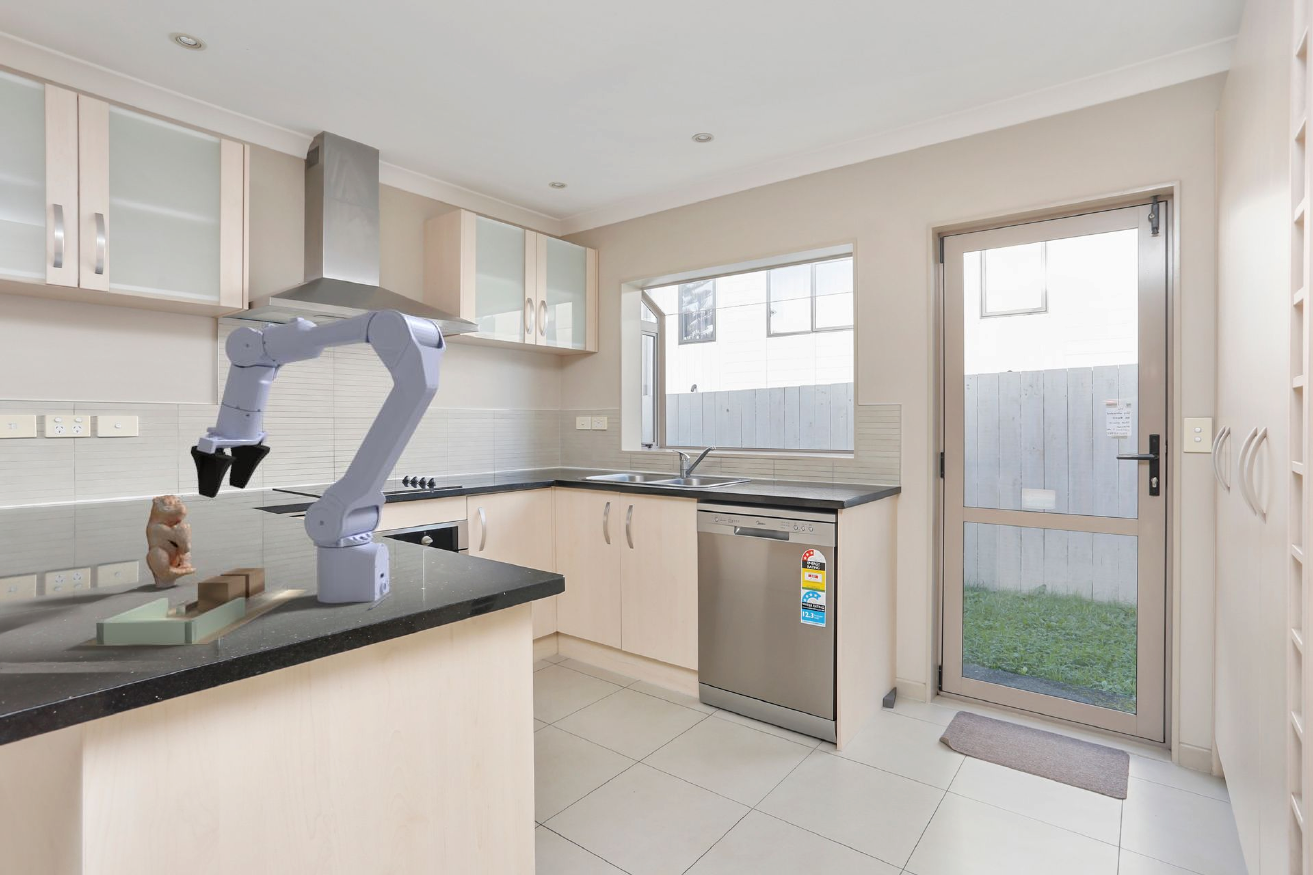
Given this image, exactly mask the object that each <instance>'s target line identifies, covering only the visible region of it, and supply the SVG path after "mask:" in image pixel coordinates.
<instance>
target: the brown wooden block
mask: <svg viewBox="0 0 1313 875" xmlns="http://www.w3.org/2000/svg"><path fill="white" fill-rule="evenodd" d="M219 576H245V599H246V598H249V597H251V596H253V595H255V594H257V593H259V592H262V591H264V590H266V588H265V586H266V585H265V584H266V582H265V580H266V579H265V578H266V576H265V567H246V568H245V567H241V568H239V567H236V568H233V569H231V570H228V571H226V572H224V573H220V575H219Z"/></svg>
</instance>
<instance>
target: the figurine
mask: <svg viewBox="0 0 1313 875" xmlns="http://www.w3.org/2000/svg"><path fill="white" fill-rule="evenodd" d="M187 514H188V511H187V507H186V506H185V505H184V504H183V503H182V502H181V500H180V498H179V497H178V496H177V495H175V494H170V495H168V494H165V495H162V496H156V497H153V498H152V506H151V509H150V516H149V518H148V522H147V525H146V528H145V536H146V540H147V544H148V552H147V553H146V557H145V559H146V563H147V567H148V568H149V570H150V571H151V573H152V577H153V579H154V582H155V588H158V589H159V588H165V589H166V588H170V587H173V586H175V585H176V580H177V579H181V578H182V577H184V576H187V575H191V574H194V573H196V571H197V568H195V567H192V564H191V559H192V556H191V555H192V554H191V553H190V552H191V549H192V545H191V543H192V526H191V524H189V523H187V522H183V520H184V519H185V518H186V516H187Z"/></svg>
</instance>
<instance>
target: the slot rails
mask: <svg viewBox="0 0 1313 875" xmlns="http://www.w3.org/2000/svg"><path fill="white" fill-rule="evenodd" d="M289 590H291V581H281V582H279V583H277V584H275V585H272V586H270V587H268V588H265V590H264V591H262V592H259V593H257V594H255V595H253V596H251V597H249V598H246V599H245V612H246V611H248V610H250V609H252V608H254V607H256V606H258V605H260V604H262V603H264V602H266V601H268V600H270V599H272V598H274V597H277V596H279V595H281V594H283V593H285V592H287V591H289ZM175 606H176V615H186V614H188V613H190V612H193V611H195V610H197V609H198V596H196V597H193V598H192V599H189V600H187V601H184V602H182V603H179V604H176V605H175Z"/></svg>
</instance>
